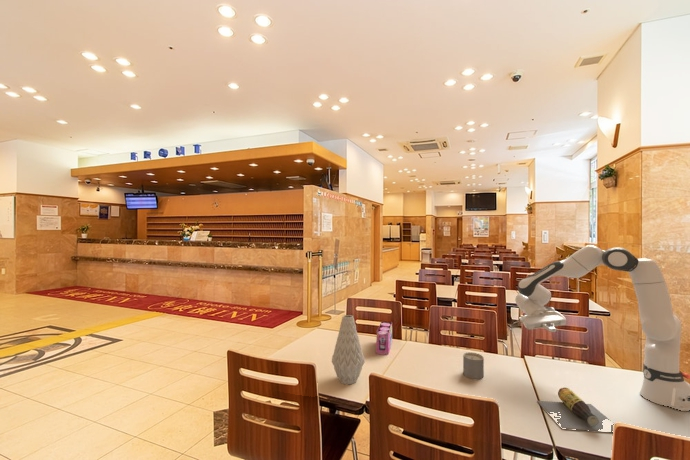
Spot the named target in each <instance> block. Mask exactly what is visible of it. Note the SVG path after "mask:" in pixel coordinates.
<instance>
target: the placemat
mask: <svg viewBox="0 0 690 460" xmlns="http://www.w3.org/2000/svg"><path fill="white" fill-rule="evenodd" d="M536 402H537V404H538V406H540V407H541V408H542V409H543V408H544V409H545V410H546V411H547V412H548V413H549V414H553V413H550V412H554V413H557V416H561V418H560V417H555V416H554V418H560V419H557V421H558V422H557V423H558V424H559V423H560V424H561V427H562V428H566V429H576V430H589V431H588V432H590V431H598V430H599V429H600V430H601V429H603V425H602V423H603V422H602V421H603V420H605V419H608V420H610V418H608V417H607V416H606V415H605V414H603V413H602V412H601V411H600V410H599V409H597V408H596V407H595V406H594V405H593V404H592V403H585V404H586V405H588V407H589V409H590V410H591V413H592V414H594V415H595V416H596V417H597V418H598V420H599V423H598V424H597V425H596V426H591V425H589V424H588V423H587V422H586V420H585V419H584V418H580V417H578V416H577V415H576V414H575V413H574V412H572V411H571V410H570V409H569V408H568V407H567V406H566V405H565V404H564V403H563V402H562V401H550V400H549V401H548V400H547V401H546V400H536ZM544 409H543V410H544ZM545 410H544V411H545ZM546 411H545V412H546ZM547 412H546V413H547ZM558 412H560V413H558ZM559 414H561V415H559ZM614 424H615V423H614ZM614 424H613V425H614ZM613 425H611V432H612V431H613ZM576 430H575V431H576Z"/></svg>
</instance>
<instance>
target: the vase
mask: <svg viewBox="0 0 690 460" xmlns="http://www.w3.org/2000/svg"><path fill="white" fill-rule="evenodd" d="M331 363H332V365H333V369H334V372H335V374H336V377H337V378H338V380H339V381H338V382H340V383H341V384H343V385H352V384H355V383H357V381H358V379H359V377H360V375H361V372H362V369H363V365H364V364H365V356H364V354H363V350H362V347H361V341H360V339H359V335H358V331H357V325H356V321H355V318H354V315H351V314H344V315H343V316H342V318H341V322H340V325H339V332H338V334H337V338H336V343H335V346H334V351H333V353H332V357H331Z"/></svg>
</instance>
